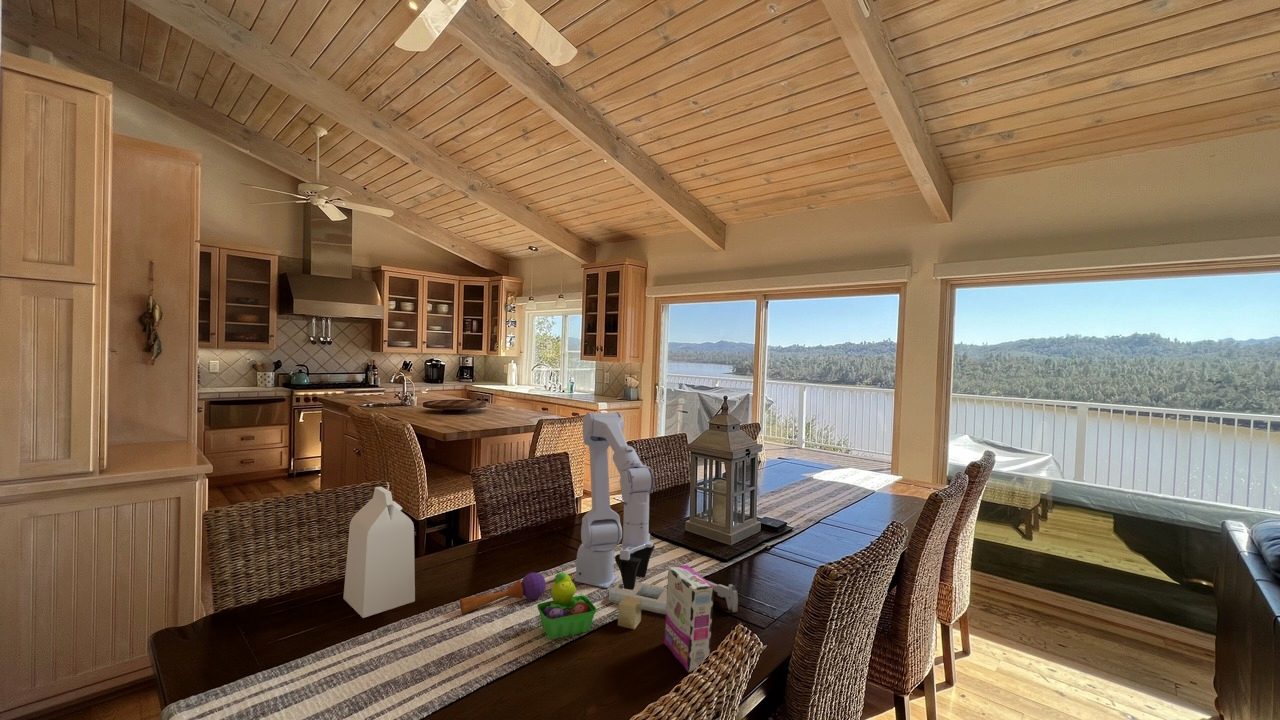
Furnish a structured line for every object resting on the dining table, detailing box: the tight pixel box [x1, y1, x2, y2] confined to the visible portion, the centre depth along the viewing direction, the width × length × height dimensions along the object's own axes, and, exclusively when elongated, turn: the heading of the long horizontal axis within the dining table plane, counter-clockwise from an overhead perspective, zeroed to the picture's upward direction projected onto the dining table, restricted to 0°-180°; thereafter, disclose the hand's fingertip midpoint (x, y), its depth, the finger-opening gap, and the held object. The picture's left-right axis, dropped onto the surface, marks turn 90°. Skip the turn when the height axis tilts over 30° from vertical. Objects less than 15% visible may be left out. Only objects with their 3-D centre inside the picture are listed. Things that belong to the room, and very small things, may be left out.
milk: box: [343, 486, 416, 619], centre depth 125 cm, size 12×12×26 cm
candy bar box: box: [664, 564, 715, 673], centre depth 109 cm, size 11×5×16 cm, turn 23°
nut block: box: [617, 596, 642, 630], centre depth 120 cm, size 4×4×5 cm
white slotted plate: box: [608, 578, 667, 616], centre depth 130 cm, size 18×8×3 cm, turn 70°
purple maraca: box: [459, 572, 547, 615], centre depth 127 cm, size 6×6×20 cm
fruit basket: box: [537, 571, 598, 640], centre depth 117 cm, size 11×9×11 cm
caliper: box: [705, 579, 739, 613], centre depth 136 cm, size 20×1×6 cm, turn 27°
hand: (634, 582), depth 120 cm, fingers open, 7 cm apart
